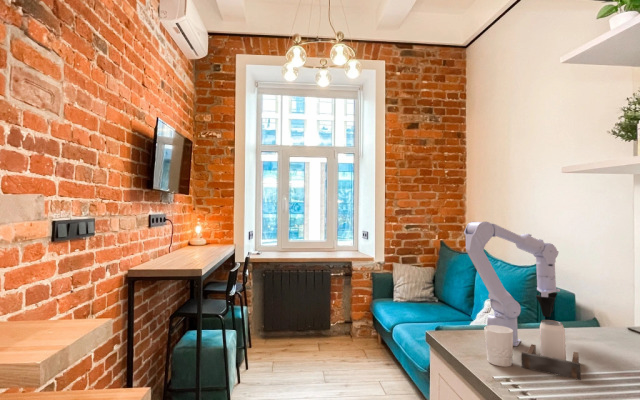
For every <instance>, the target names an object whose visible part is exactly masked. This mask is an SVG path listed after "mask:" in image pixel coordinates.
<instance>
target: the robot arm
mask: <svg viewBox="0 0 640 400" xmlns="http://www.w3.org/2000/svg"><path fill="white" fill-rule="evenodd" d="M463 235H464V237H465V250H466V253H467V255H468V257H469V258H470V260H471V262H472V264H473V266H474V268H475V270H476V271H477V273H478V274H479V276H480V278H481V281H482V282H483V284H484V286H485V287H486V290H487V291H488V295H487V296H488V299H489V301H490V302H489V303H490V307H491V309H492V310H493V314H488V315H487V322H486V323H487V324H486V326H489V325H496V326H504V327H507V328H510V329H512V330H513V347H518V346H519V344H520V343H521V341H522V340H521V339H520V338H519V337H518V336H519V334H518V333H519V332H518V317H519V316H520V314H521V312H522V307H521V305H520V302H518V301H517V300H515V298H514V297H513V296H512V295H511V294H510V292H509V291H507V289H506V288H505V287H504V285H503V283H502V282H501V280H500V278H499V276H498V274H497V272H496V271H495V269H494V267H493V266H492V263H491V262H490V260H489V258H488V256H487V254H486V252H485V251H484V250H485V247H486V245H487V244H488V242H489V241H490V240H491V239H492V238H496V237H497V238H500V239H503V240H504V241H508V242H510V243H514V244H515V247H516V249H519V250H521V251H524V252H527V253H529V254H531V255H533V256H534V258H535V264H536V266H535V267H536V286H537V287H536V291H538V292H539V294H536V296H535V298H536V300H537V301H538V303H539V306H540V310H541V313H542V316H543V317H547V318H551V316H552V313H553V311H554V305H555V300H556V297H557V295H558V293H559V292H561V289H560V288H557V281H556V262H557V261H556V259H557V257H558V256H559V251H558V250H557V247H556V246H555V245H554V244H553V243H551V242H550V243H549V242H544V239H542V238H541V239H540V238H539V239H538V238H536V237H533V236H532V234H530V233H521V234H520V235H519V234H517V233H515V232H512V231H511V230H509V229H506V228H504V227H502V226H500V225H498V224H495V223H492V222H489V221H470V222H468V223H467V224H466V227H465V229H464V231H463Z"/></svg>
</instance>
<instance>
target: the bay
mask: <svg viewBox="0 0 640 400" xmlns="http://www.w3.org/2000/svg"><path fill="white" fill-rule="evenodd" d="M579 358H580V357H579V352H577V351H573V354H572V359H571V361H570V360H567V359H566V360H561V359H555V358H550V357H545V356H541V354H538V355H537V346H536V344H532V343H531V344H530V346H529V348H528V350H527V352H523V351H522V352H521V368H524V369H529V370H532V371H538V372H543V373H548V374H553V375H556V376H560V377H567V378H570V379H576V380H580V381H581V380H582V374H581V373H582V372H581V362H580V359H579Z"/></svg>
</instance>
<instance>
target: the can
mask: <svg viewBox="0 0 640 400" xmlns="http://www.w3.org/2000/svg"><path fill="white" fill-rule="evenodd" d="M539 342H540V343H539V345H540V346H539V347H540V348H539V349H540V351H539V352H540V356H545V357H550V358H555V359H561V360H566V361H567V347H566V332H565V327H564V325H563V323H562V322H561V321H558V320H557V321H556V320H552V319H551V320H550V319H541V320H540V325H539Z"/></svg>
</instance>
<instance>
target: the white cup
mask: <svg viewBox="0 0 640 400" xmlns="http://www.w3.org/2000/svg"><path fill="white" fill-rule="evenodd" d="M483 330H484V341H485V342H484V343H485V350H486V359H487V362H488V363H489V364H491V365H494V366H497V367H503V368H504V367H511V366H512V365H513V351H514V350H513V348H514V346H513V330H512V329H510V328H507V327H504V326H496V325H489V326H487V325H486V326H484V328H483Z"/></svg>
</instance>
